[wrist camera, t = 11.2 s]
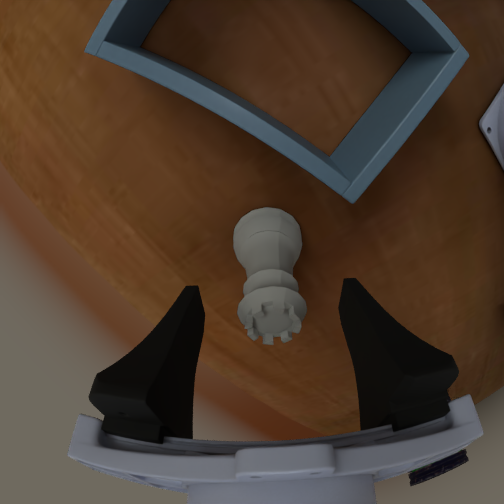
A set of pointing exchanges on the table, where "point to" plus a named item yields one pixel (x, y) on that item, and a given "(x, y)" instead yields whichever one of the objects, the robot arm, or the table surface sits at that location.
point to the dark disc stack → (438, 466)
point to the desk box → (277, 134)
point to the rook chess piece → (269, 274)
